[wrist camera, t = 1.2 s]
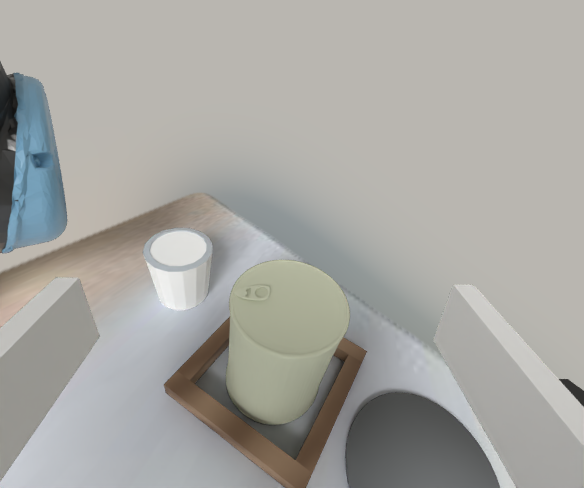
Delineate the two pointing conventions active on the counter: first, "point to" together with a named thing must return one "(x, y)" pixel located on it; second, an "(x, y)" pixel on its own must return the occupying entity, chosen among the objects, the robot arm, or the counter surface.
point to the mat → (413, 447)
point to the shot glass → (179, 266)
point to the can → (282, 338)
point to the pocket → (243, 435)
